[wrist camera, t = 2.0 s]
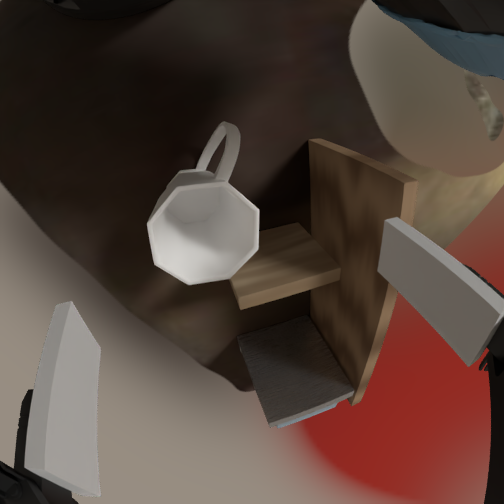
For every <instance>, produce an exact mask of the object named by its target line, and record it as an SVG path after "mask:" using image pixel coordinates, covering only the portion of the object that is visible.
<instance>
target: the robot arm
mask: <svg viewBox="0 0 504 504" xmlns="http://www.w3.org/2000/svg"><path fill="white" fill-rule="evenodd" d="M43 1H44V2H46V3H47V4H48V5H50V6H51V7H53V8H54V9H55V10H57V11H59V12H60V13H62V14H65V15H67V16H71V17H74V18H80V19H88V20H103V19H113V18H120V17H125V16H129V15H133V14H137V13H140V12H143V11H147V10H149V9H152V8H155V7H157V6H159V5H162V4H164V3H166V2H168V1H170V0H43ZM372 1H373V2H374V3H375V4H376V5H378V7H379V9H380V10H382V11H383V12H384V13H386V14H387V15H389V16H390V17H392V18H393V19H396V20H398V21H400V22H402V23H404V24H405V25H406V26H407V27H408V28H409V29H411V30H412V31H413V32H414V33H415V34H416V35H418V36H419V37H420V38H421V39H422V40H423V41H424V42H425V43H426V44H427V45H429V46H430V47H431V48H432V49H433V50H435V51H436V52H437V53H439V54H440V55H441V56H443V57H444V58H446V59H447V60H449V61H451V62H452V63H454V64H456V65H458V66H460V67H462V68H464V69H466V70H468V71H470V72H473V73H475V74H478V75H481V76H494V77H498V78H500V79H502V80H504V0H372ZM377 271H378V272H379V273H380V274H381V275H382V276H383V277H384V278H385V279H386V280H387V281H388V282H389V283H390V284H391V285H392V286H393V287H394V288H395V289H396V290H397V291H398V292H399V293H400V294H401V295H402V296H404V298H405V299H406V300H407V301H408V302H409V303H410V304H411V305H412V306H413V307H414V308H415V309H416V310H417V311H418V312H419V313H420V314H421V315H422V316H423V317H424V318H425V319H426V320H427V321H428V322H429V323H430V325H431V326H432V327H433V328H434V329H435V330H436V331H437V332H438V333H439V334H440V335H441V336H442V338H443V339H444V340H445V341H446V342H447V343H448V344H449V345H450V346H451V347H452V349H453V350H454V351H455V352H456V353H457V354H458V355H459V356H460V358H461V359H462V360H463V361H464V362H465V363H466V365H467V366H468V367H469V366H470V365H472V364H473V363H474V362H475V361H476V360H478V359H479V358H480V357H481V355H482V353H483V352H484V350H485V349H486V347H487V348H488V349H489V352H488V353H487V355H486V356H485V358H484V359H483V361H482V362H481V364H480V366H479V370H482V368H483V367H484V366H485V364H486V363H488V364H487V365H486V367H485V369H484V371H488V372H489V383H490V399H491V447H490V462H489V472H488V481H487V488H486V494H485V500H484V504H504V295H503V294H502V293H501V292H499V291H498V290H497V289H496V288H495V287H494V286H493V285H492V284H490V283H488V282H487V280H486V279H484V278H483V277H481V276H480V274H478V273H477V272H476V271H475V270H473V269H472V268H471V267H468V266H466V265H464V264H462V263H460V262H459V261H458V260H456V259H455V258H454V257H452V256H451V255H449V254H448V253H447V252H446V251H445V250H443V249H442V248H441V247H439V246H438V245H436V244H435V243H434V242H432V241H431V240H430V239H428V238H427V237H425V236H424V235H423V234H421V233H420V232H418V231H417V230H416V229H414V228H413V227H411V226H410V225H408V224H407V223H405V222H404V221H402V220H401V219H400V218H398V217H394V218H391V219H387V220H385V221H384V229H383V237H382V244H381V251H380V258H379V264H378V270H377ZM100 356H101V348H100V346H99V344H98V343H97V341H96V340H95V338H94V337H93V335H92V334H91V332H90V331H89V329H88V327H87V326H86V324H85V323H84V321H83V319H82V318H81V316H80V314H79V313H78V311H77V309H76V308H75V306H74V304H73V303H72V301H69V302H65V303H62V304H57V305H56V307H55V310H54V313H53V317H52V319H51V323H50V326H49V329H48V333H47V336H46V340H45V343H44V347H43V351H42V355H41V359H40V363H39V367H38V372H37V376H36V380H35V385H34V389H31V390H28V391H27V393H26V395H25V397H24V399H23V401H22V405H21V411H20V418H19V424H18V426H19V429H18V431H17V440H16V451H15V463H14V469H13V468H11V467H10V466H8V465H6V464H5V463H3V462H1V461H0V504H78V502H77V501H75V500H74V499H73V498H72V493H71V492H74V493H76V494H78V495H81V496H93V497H101V492H100V481H99V468H98V446H97V406H98V405H97V404H98V403H97V402H98V381H99V368H100V367H99V366H100Z"/></svg>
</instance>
